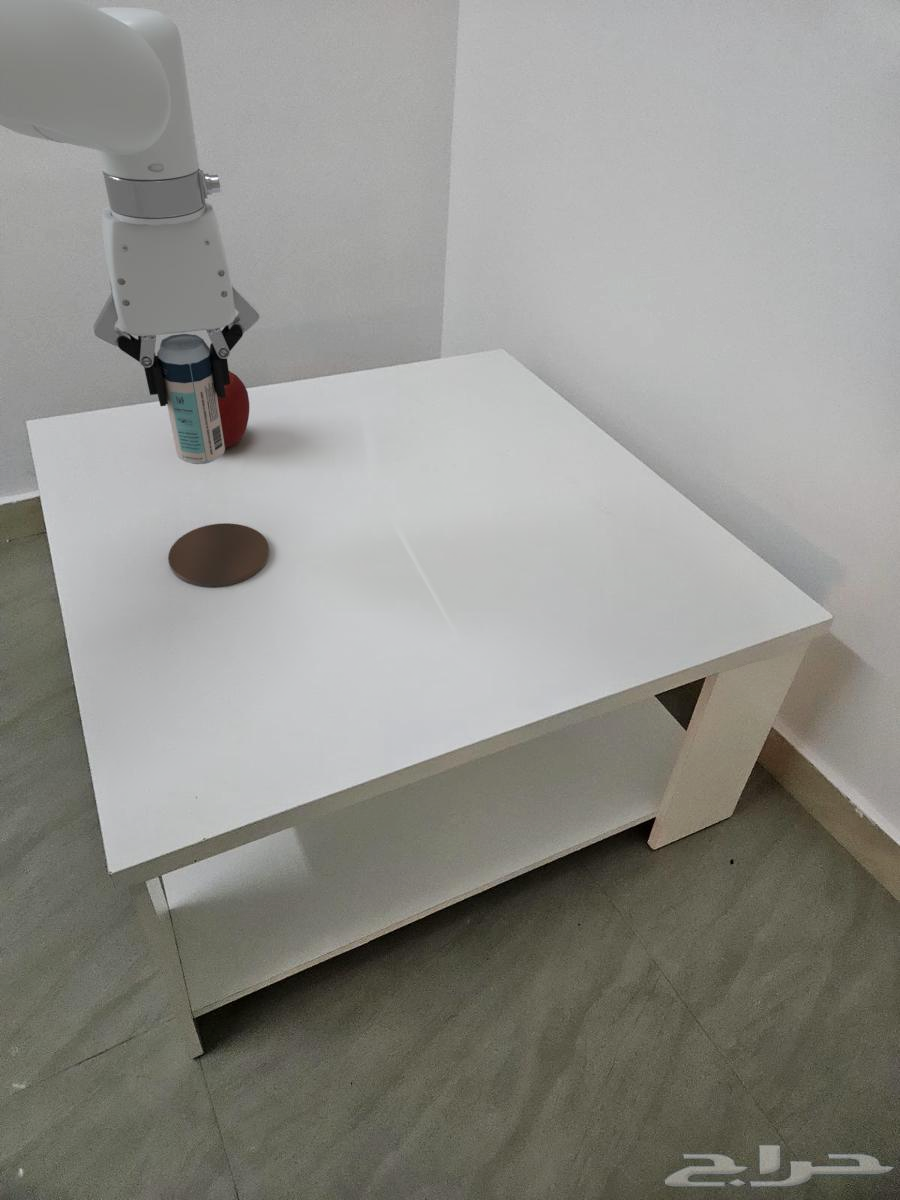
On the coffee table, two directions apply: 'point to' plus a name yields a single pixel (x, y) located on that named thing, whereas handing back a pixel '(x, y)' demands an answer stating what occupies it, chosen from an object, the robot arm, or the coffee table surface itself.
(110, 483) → the coffee table surface
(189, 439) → the beer can
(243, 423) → the apple
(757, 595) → the coffee table surface
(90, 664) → the coffee table surface
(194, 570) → the coaster
